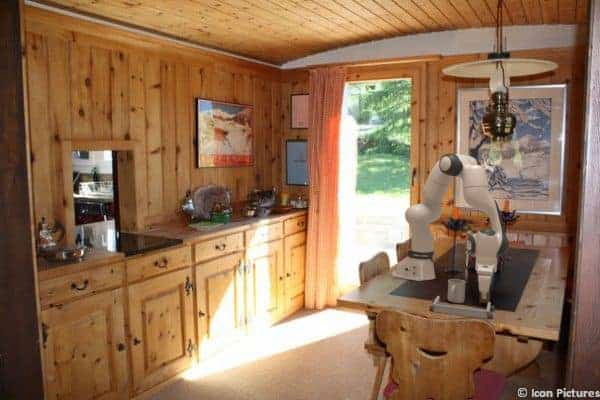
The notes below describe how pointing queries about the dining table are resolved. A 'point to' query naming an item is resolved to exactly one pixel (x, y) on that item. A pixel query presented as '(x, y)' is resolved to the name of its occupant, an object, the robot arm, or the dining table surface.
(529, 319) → the dining table surface
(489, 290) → the walnut block
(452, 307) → the cart frame
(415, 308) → the dining table surface
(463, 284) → the cup
